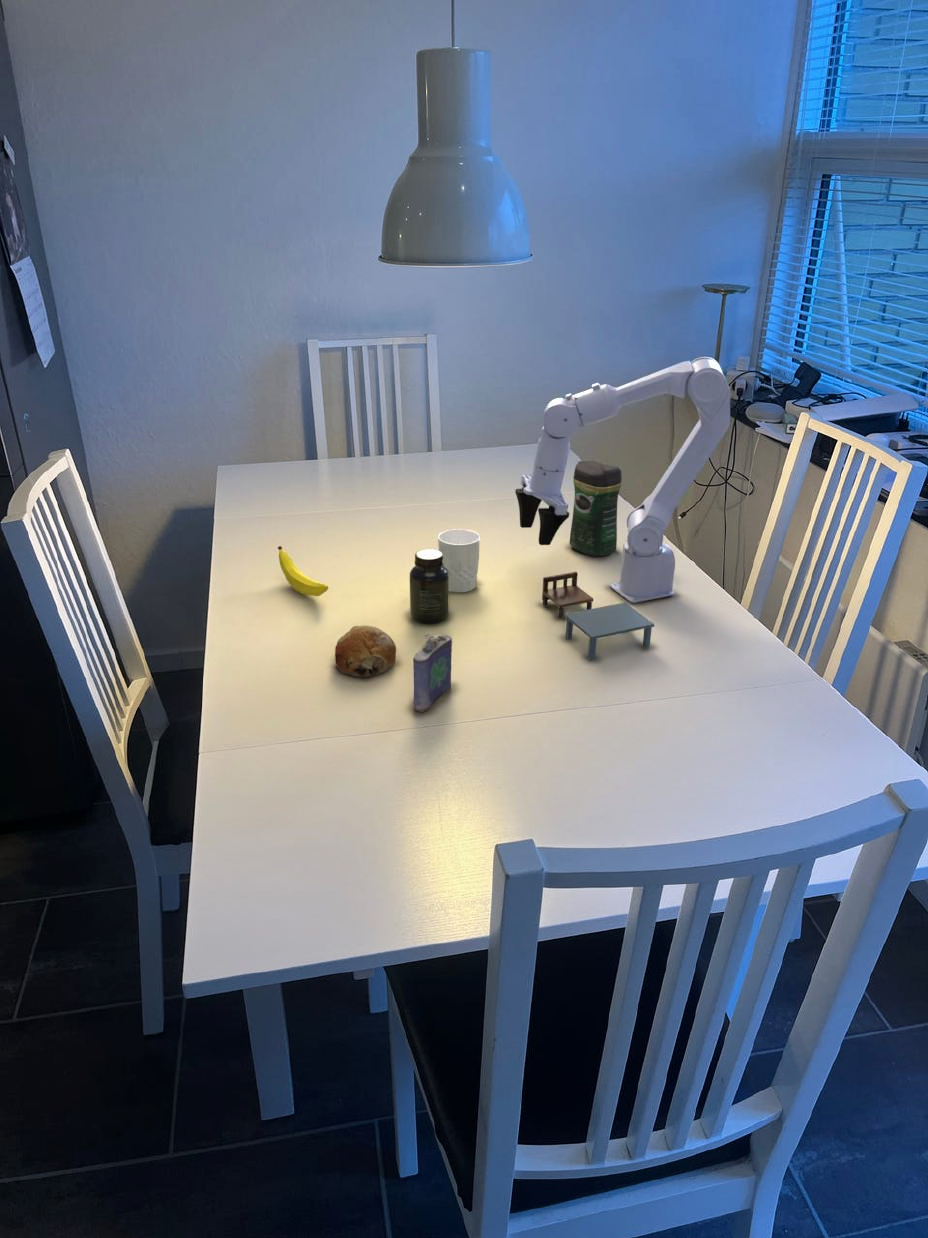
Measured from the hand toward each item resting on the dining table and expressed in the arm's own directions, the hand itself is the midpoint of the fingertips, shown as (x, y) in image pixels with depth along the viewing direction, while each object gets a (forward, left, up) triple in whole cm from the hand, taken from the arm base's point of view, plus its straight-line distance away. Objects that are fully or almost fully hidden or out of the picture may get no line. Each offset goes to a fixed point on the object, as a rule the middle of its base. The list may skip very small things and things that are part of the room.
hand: (534, 535), depth 178 cm
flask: (+33, +31, -10) cm, 46 cm away
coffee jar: (-20, -11, -10) cm, 25 cm away
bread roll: (+39, +17, -10) cm, 44 cm away
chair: (-1, +12, -10) cm, 15 cm away
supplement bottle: (+23, +5, -10) cm, 26 cm away
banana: (+41, -13, -10) cm, 44 cm away
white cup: (+13, -5, -10) cm, 18 cm away
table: (-1, +26, -10) cm, 28 cm away
